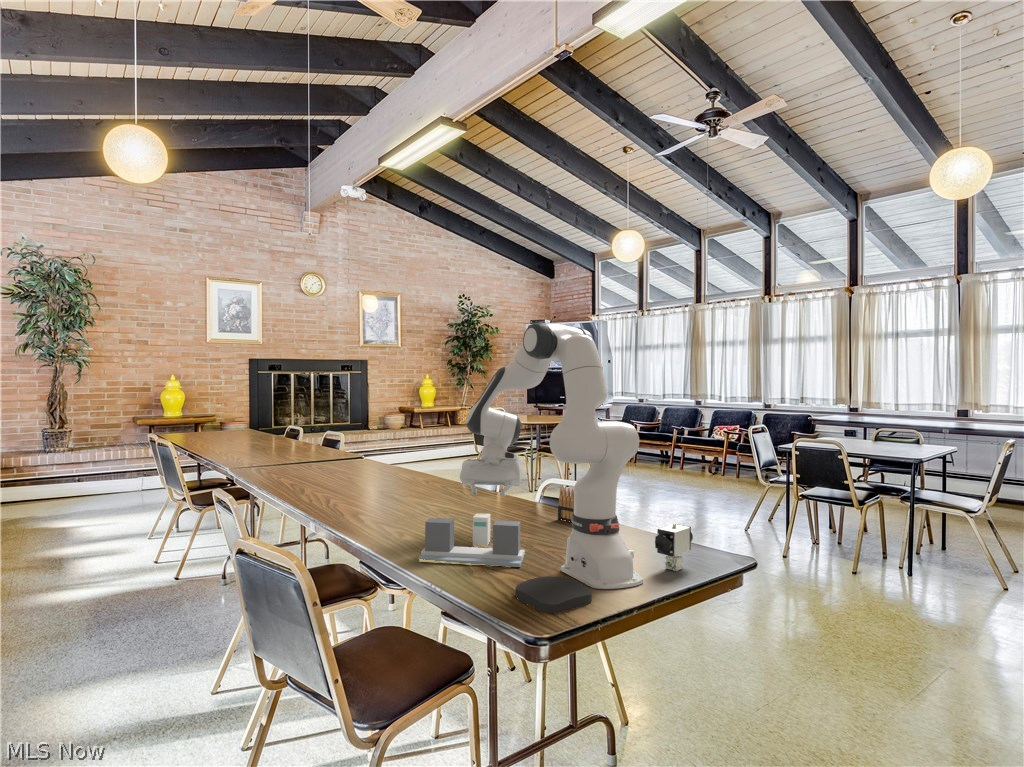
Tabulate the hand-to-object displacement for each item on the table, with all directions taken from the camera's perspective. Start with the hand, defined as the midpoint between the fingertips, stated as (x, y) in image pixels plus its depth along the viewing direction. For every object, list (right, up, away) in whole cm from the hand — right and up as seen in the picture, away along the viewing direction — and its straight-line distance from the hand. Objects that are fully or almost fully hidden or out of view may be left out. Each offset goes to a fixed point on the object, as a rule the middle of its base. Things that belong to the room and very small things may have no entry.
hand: (488, 494), depth 178 cm
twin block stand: (-3, -13, -23) cm, 27 cm away
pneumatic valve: (+50, -14, -30) cm, 60 cm away
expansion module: (-2, -13, -10) cm, 17 cm away
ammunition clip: (+28, -14, +19) cm, 37 cm away
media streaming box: (+17, -14, -51) cm, 56 cm away
